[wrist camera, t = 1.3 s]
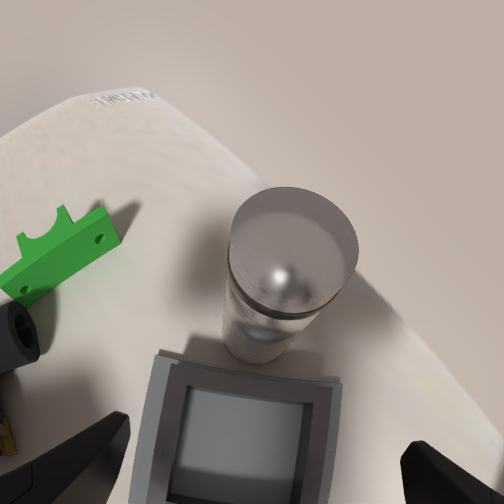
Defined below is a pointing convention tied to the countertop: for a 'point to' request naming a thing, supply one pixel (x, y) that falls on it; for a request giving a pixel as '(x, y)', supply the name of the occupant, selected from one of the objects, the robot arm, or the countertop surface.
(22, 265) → the pipe clamp
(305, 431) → the iron collar
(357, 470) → the countertop surface
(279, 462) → the grey flat square frame
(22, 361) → the pipe connector
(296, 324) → the silver metal tumbler
